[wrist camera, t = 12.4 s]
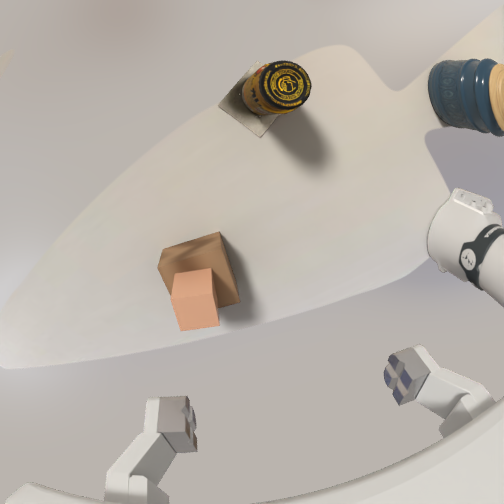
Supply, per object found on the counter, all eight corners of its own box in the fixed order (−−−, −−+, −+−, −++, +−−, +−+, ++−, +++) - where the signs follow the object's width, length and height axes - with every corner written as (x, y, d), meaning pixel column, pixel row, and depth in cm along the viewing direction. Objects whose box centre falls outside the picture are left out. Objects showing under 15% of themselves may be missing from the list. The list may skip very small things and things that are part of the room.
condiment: (297, 93, 35) (332, 84, 24) (259, 137, 37) (281, 144, 26) (257, 60, 32) (277, 37, 21) (217, 105, 34) (221, 98, 24)
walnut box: (219, 231, 42) (221, 248, 37) (236, 280, 46) (240, 302, 41) (163, 248, 42) (157, 267, 37) (184, 295, 46) (182, 318, 41)
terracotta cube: (211, 267, 38) (212, 293, 33) (217, 298, 40) (219, 325, 35) (174, 273, 38) (170, 299, 32) (183, 303, 40) (180, 331, 35)
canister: (466, 134, 40) (536, 154, 24) (423, 114, 38) (503, 127, 22) (471, 76, 35) (539, 83, 19) (427, 49, 32) (503, 43, 17)
